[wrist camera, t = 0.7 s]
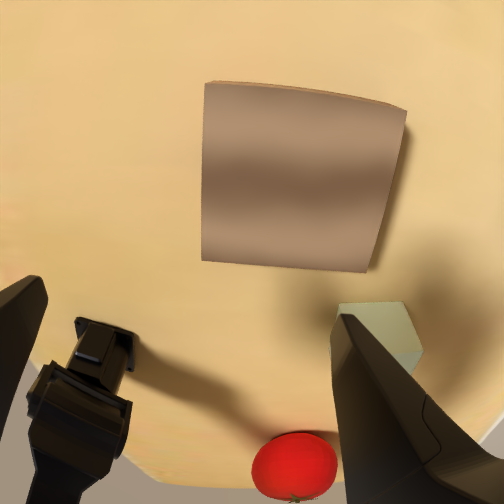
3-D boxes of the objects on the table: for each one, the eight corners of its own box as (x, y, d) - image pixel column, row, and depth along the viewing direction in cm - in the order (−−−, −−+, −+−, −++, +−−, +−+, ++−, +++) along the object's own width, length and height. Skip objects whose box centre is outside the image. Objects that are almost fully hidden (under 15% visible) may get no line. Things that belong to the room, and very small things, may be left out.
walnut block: (354, 245, 24) (365, 273, 21) (209, 233, 24) (201, 260, 21) (385, 102, 18) (407, 111, 15) (214, 80, 18) (204, 83, 15)
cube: (385, 344, 30) (400, 393, 25) (328, 348, 30) (337, 399, 25) (402, 300, 27) (424, 350, 22) (339, 302, 27) (352, 357, 22)
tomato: (329, 449, 45) (334, 505, 36) (254, 452, 45) (252, 510, 36) (340, 419, 39) (349, 488, 30) (249, 424, 39) (247, 495, 30)
